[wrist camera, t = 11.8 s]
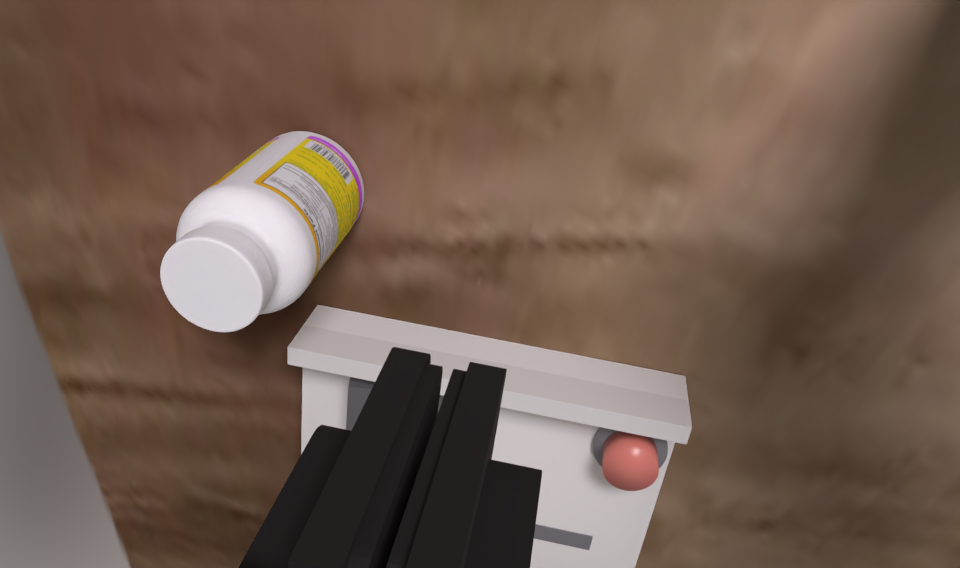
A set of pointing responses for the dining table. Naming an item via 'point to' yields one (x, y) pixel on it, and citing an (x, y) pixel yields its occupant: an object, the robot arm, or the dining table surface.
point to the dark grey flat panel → (360, 399)
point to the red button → (630, 461)
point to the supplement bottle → (262, 232)
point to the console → (521, 421)
